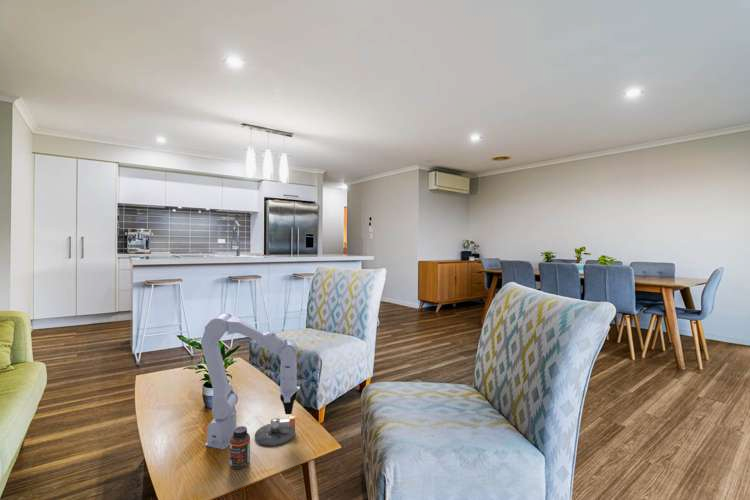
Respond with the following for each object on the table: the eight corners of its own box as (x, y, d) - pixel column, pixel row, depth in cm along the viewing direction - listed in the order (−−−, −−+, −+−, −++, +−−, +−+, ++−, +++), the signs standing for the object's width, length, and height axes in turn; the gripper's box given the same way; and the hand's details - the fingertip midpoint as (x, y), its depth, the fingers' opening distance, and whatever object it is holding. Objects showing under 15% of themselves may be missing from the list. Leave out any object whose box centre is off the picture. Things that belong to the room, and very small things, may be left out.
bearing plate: (281, 449, 120) (281, 446, 120) (246, 442, 125) (246, 438, 125) (302, 428, 134) (302, 425, 134) (269, 422, 138) (269, 419, 138)
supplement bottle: (228, 472, 109) (228, 435, 108) (231, 460, 114) (230, 425, 114) (249, 468, 110) (249, 432, 110) (250, 457, 116) (250, 423, 116)
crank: (270, 434, 127) (270, 421, 127) (270, 429, 130) (270, 417, 130) (295, 431, 129) (295, 419, 129) (295, 427, 132) (295, 414, 132)
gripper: (299, 383, 121) (299, 422, 122) (300, 368, 136) (300, 403, 136) (277, 384, 120) (277, 424, 121) (281, 369, 134) (281, 404, 135)
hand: (288, 413), depth 128 cm, fingers closed
